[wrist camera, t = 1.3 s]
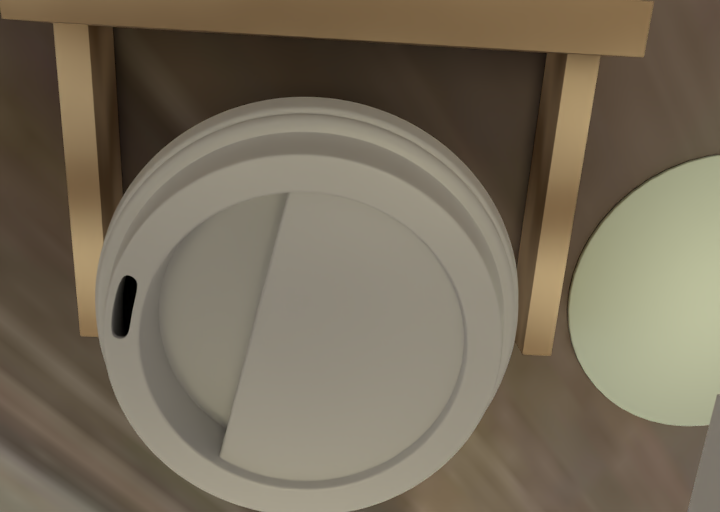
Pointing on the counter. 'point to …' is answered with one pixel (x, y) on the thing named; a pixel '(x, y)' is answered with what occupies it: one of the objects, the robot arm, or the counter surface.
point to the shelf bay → (360, 24)
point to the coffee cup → (306, 305)
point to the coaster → (654, 298)
